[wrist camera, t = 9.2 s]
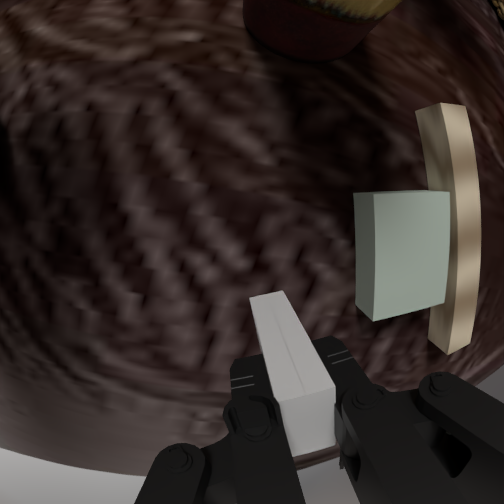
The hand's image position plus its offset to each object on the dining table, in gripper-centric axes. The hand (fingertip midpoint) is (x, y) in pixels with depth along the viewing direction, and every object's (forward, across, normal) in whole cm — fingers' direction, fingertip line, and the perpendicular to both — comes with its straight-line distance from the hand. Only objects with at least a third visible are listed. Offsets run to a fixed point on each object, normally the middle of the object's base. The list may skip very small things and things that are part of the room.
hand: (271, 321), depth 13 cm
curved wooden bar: (+10, +20, -1) cm, 22 cm away
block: (+11, +13, -2) cm, 17 cm away
